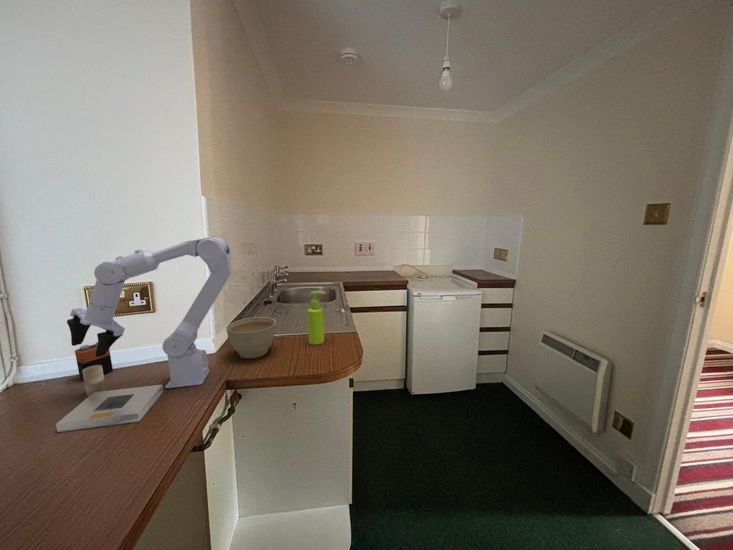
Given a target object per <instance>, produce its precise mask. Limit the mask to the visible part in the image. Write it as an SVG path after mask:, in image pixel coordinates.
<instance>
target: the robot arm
mask: <svg viewBox="0 0 733 550" xmlns="http://www.w3.org/2000/svg"><path fill="white" fill-rule="evenodd" d="M231 253H232V251H231V248H230V245H229V244H228V242H227V240H226V239H225V238H223V237H222V236H217V235H214V236H210V237H204V238H198V239H197V238H196V239H192V240H191V239H190V240H186V241H183V242H180V243H178V244H175V245H172V246H170V247H166V248H164V249H160V250H158V251H155V252H153V251H151V250H148V249H144V250H143V249H136V250H134V253H132V254H128V255H125V256H117V257H115V260H110V261H103V262H102V263H100V264H98V265H97V266H96V267H95V268H94V271H93V272H94V273H93V274H94V277H95V278H96V280H95V282H94V283H95V284H94V287H93V290H92V293H91V296H90V299H89V302H88V304H87V309H83V308H81V307H77V308H71V311H70V315H69V316H70V317H72V318H71V319H70V318H69V319H67V320H66V324H67V325H68V328H69V330H70V331H69V332H70V338H71V339H70V340H71V346H74V347H75V346H80V345H83V342H84V340H85V337H86V335H87V333H88V331H89V329H90V327H91V326H93V327H97V328H100V329H102V330H104V331H103V332H97V334H96V335H97V342H98V346H97V350H96V357H100V356H103V355H105V354H106V353H107V351H108V350H110V348H111V347H112V346H113V344H115V343H116V342H117V341H118V340H119V339H120V338H121V337H122V336H123V335H124V333H125V329H126V327H124V326H121V325H120V324H119V323H118V322H117V321H116V320H115V319H114V316H115V313H116V310H117V307H118V304H119V300H120V299H121V294H122V291H123V288H124V285H125V282H126V281H127V280H129V279H132V278H134V277H137V276H140V275H144V274H147V273H149V272H150V273H151V272H153V271H156V270H158V267H159V265H160V263H163V262H169V261H170V260H171V261H172V260H174V259H178V258H181V257H184V256H189V257H190V256H191V257H195V258H197V257H200V259H201V260H202V261H203V262H204V263H205V264H206V266H207V268H208V269H209V273H210V274H209V276H208V278H207V280H206V281H205V283H204V285H203V286H202V288H201V289H200V291H199V292H198V294H197V296H196V298H195V299H194V300H193V302H192V304H191V305H190V307H189V309H188V311H187V313H186V314H185V316H184V317H183V318H182V320H181V322H180V323H179V324H178V326H177V327H176V329H175V330H174V331H173V332H172V333H171V334H170V335H169V336H167V337H166V338H165V340H164V341H163V342H162V351H163V352H164V353H165V354H166V355H167V360H168V361H167V362H168V368H169V369H168V370H169V375H170V380H169V381H168V383H167V384H166V385H165V387H164V388H165V389H172V388H181V387H189V386H190V387H191V386H196V385H197V386H200V385H203V383H204V381H205V380H206V378H207V377H208V375H209V373H210V370H209V362H208V361H209V360H208V354H207V351H206V349H198V348H197V346H196V344H195V342H196V340H197V338H198V331H199V329H200V327H201V324H202V322H203V321H204V319H205V317H206V316H207V314H208V313H209V311H210V309H211V308H212V306H213V304H214V303H215V301H216V300H217V298H218V297H219V294H220V293H221V292H222V290H223V289H224V287H225V285H226V283H227V282H228V280H229V278H230V277H231V274H232V271H233V270H232V260H231V259H232V257H231V255H232V254H231Z"/></svg>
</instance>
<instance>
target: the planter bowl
mask: <svg viewBox="0 0 733 550" xmlns="http://www.w3.org/2000/svg"><path fill="white" fill-rule="evenodd" d="M276 323H277V322H276V320H275V319H274V318H271V317H266V316H264V317H263V316H256V317H248V318H243V319H239V320H236V321H234V322H231V323H229V324H228V325H227V326H226V327H225V328H226V332H227V336H228V337H227V338H228V340H229V342H230V345H231V346H232V347H233V349H234V350H235V351H236V352H237V353H238V355H239V357H240V358H242V359H256V358H259V357H262V356H264V355H266V354H267V353H268V351H269V348H270V346H271V345H272V343H273V340H274V338H275V334H276V333H275V332H276Z"/></svg>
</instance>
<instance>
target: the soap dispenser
mask: <svg viewBox="0 0 733 550" xmlns="http://www.w3.org/2000/svg"><path fill="white" fill-rule="evenodd" d="M325 294H326V292H325V291H322V290H321V291H320V290H318V291H317V290H314V291H310V295H312V299H311V300H310V308H308V309H307V324H308V325H307V327H308V344H310V345H314V346H315V345H318V346H319V345H321V344H323V343H324V342H325V328H324V327H325V325H324V324H325V323H324V322H325V321H324V308H323V307H321V305H320V303H321V302H320V299H319V298H318V295H325Z"/></svg>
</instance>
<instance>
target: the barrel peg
mask: <svg viewBox="0 0 733 550" xmlns="http://www.w3.org/2000/svg"><path fill="white" fill-rule="evenodd" d="M82 372H83V378H84V379H83V383H84V388H85V392H86V396H88V397H89V396H90V395H91V394H93V393H94V392H100V391H107V387H106V380H105V374H103V369H102V365H94V366H90V367H87V368H85V369H83V370H82Z"/></svg>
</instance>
